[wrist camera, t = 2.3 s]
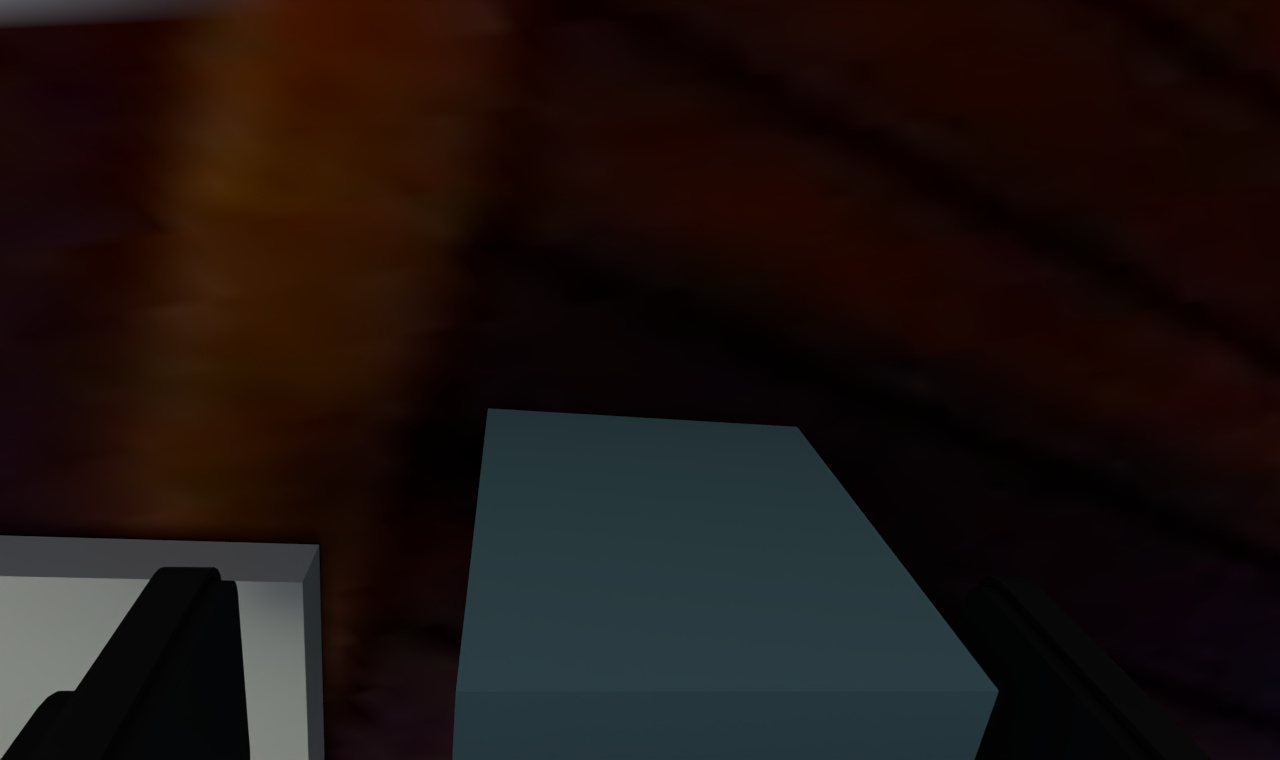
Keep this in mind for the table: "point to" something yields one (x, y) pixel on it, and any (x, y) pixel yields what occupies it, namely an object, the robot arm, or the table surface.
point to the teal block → (694, 605)
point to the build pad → (111, 583)
